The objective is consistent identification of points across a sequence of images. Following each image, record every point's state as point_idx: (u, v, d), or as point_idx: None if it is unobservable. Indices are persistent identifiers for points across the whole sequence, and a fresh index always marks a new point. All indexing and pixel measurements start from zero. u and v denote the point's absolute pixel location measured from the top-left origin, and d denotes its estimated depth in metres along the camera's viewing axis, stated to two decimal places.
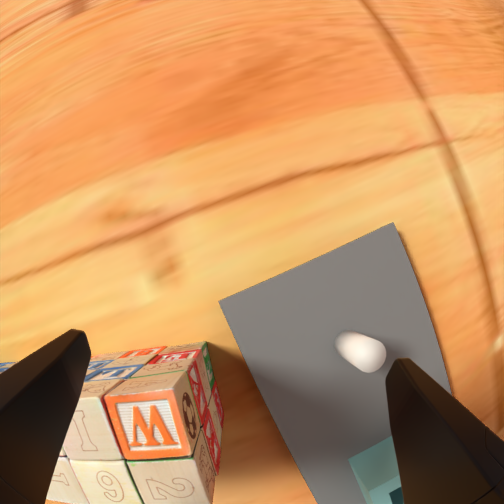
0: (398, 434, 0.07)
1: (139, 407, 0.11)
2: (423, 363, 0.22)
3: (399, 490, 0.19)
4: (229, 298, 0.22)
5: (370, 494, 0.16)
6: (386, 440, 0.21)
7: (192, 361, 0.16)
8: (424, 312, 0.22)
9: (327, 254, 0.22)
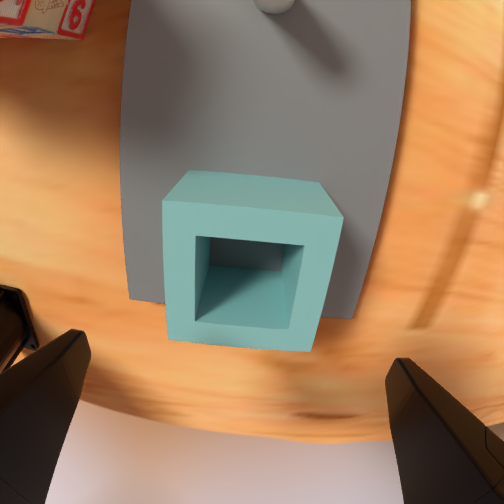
0: (398, 434, 0.07)
1: None
2: (369, 101, 0.14)
3: (235, 281, 0.17)
4: None
5: (164, 212, 0.11)
6: (257, 176, 0.16)
7: None
8: (403, 39, 0.12)
9: None
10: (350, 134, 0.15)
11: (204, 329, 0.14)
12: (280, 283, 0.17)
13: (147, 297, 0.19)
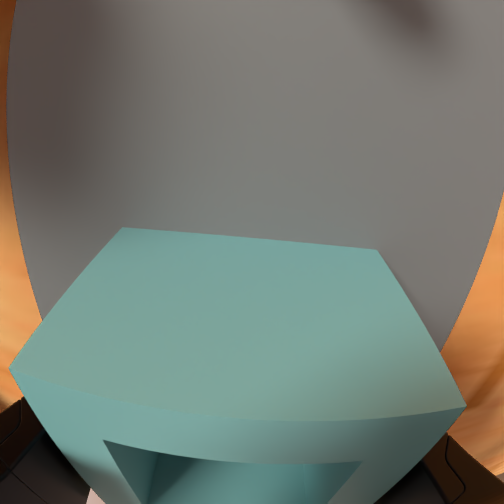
0: None
1: None
2: (473, 93, 0.06)
3: None
4: None
5: (24, 387, 0.04)
6: (254, 242, 0.08)
7: None
8: None
9: None
10: (440, 156, 0.07)
11: None
12: None
13: None
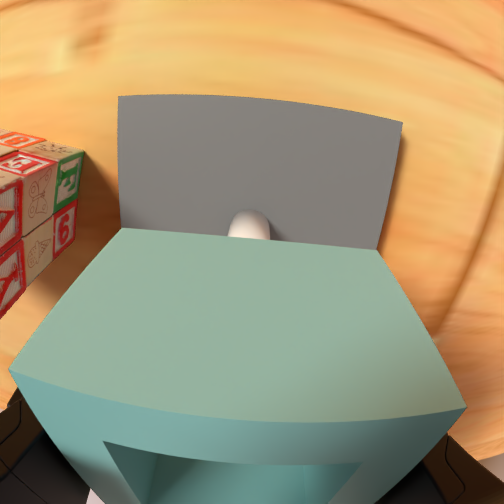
0: None
1: None
2: None
3: None
4: (132, 97, 0.14)
5: (24, 388, 0.04)
6: (254, 243, 0.08)
7: (9, 183, 0.10)
8: None
9: (286, 103, 0.14)
10: None
11: None
12: None
13: None
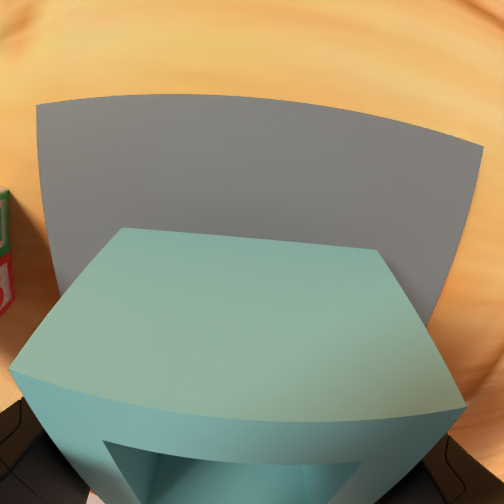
0: None
1: None
2: None
3: None
4: (54, 105, 0.08)
5: (24, 387, 0.04)
6: (254, 242, 0.08)
7: None
8: None
9: (307, 107, 0.08)
10: None
11: None
12: None
13: None
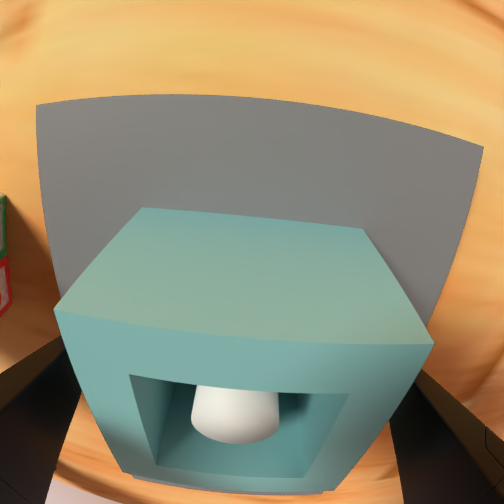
0: (398, 434, 0.07)
1: None
2: None
3: None
4: (53, 105, 0.08)
5: (64, 328, 0.05)
6: (257, 220, 0.09)
7: None
8: None
9: (307, 107, 0.08)
10: None
11: (172, 473, 0.07)
12: None
13: (148, 480, 0.18)
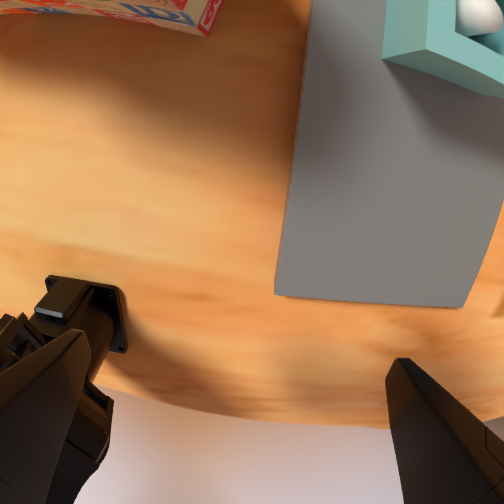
0: (398, 434, 0.07)
1: None
2: (499, 126, 0.14)
3: None
4: None
5: None
6: None
7: None
8: None
9: None
10: (486, 152, 0.15)
11: (463, 43, 0.08)
12: None
13: (295, 292, 0.19)
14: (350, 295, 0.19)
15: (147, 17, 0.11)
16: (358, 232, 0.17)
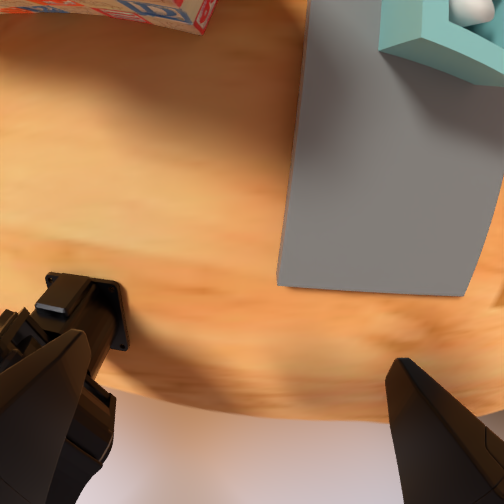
0: (398, 434, 0.07)
1: None
2: (494, 115, 0.14)
3: None
4: None
5: None
6: None
7: None
8: None
9: None
10: (482, 140, 0.15)
11: (457, 32, 0.08)
12: None
13: (298, 282, 0.20)
14: (352, 284, 0.20)
15: (144, 15, 0.12)
16: (359, 220, 0.18)
